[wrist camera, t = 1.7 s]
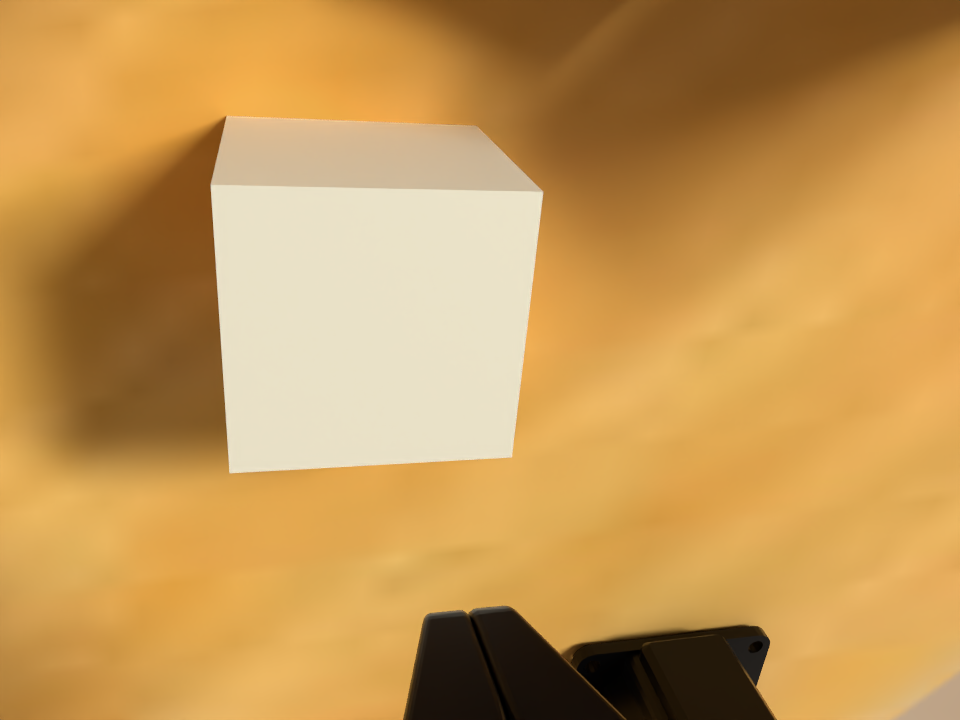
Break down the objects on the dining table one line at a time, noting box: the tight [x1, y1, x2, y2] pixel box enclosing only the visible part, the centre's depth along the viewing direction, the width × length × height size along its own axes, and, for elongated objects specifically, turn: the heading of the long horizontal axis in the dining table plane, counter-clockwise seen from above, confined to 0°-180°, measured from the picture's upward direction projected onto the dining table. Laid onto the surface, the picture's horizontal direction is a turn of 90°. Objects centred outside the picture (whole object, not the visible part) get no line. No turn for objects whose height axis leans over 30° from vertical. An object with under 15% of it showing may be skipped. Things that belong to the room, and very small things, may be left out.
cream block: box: [211, 116, 543, 473], centre depth 16 cm, size 5×5×5 cm
